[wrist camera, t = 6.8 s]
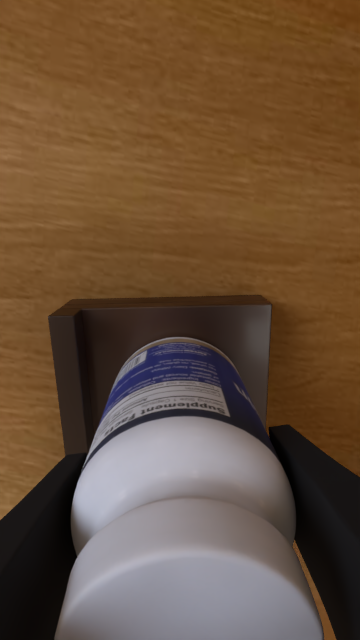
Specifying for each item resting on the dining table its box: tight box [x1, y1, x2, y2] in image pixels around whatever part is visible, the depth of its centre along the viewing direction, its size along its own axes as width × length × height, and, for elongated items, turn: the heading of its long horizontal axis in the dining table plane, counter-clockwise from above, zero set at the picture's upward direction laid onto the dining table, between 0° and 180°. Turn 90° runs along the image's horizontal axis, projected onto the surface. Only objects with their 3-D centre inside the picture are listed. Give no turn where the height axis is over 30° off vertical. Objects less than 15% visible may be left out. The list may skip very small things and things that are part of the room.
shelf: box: [48, 295, 272, 456], centre depth 18 cm, size 9×28×3 cm, turn 1°
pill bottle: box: [54, 337, 324, 640], centre depth 11 cm, size 6×6×10 cm
